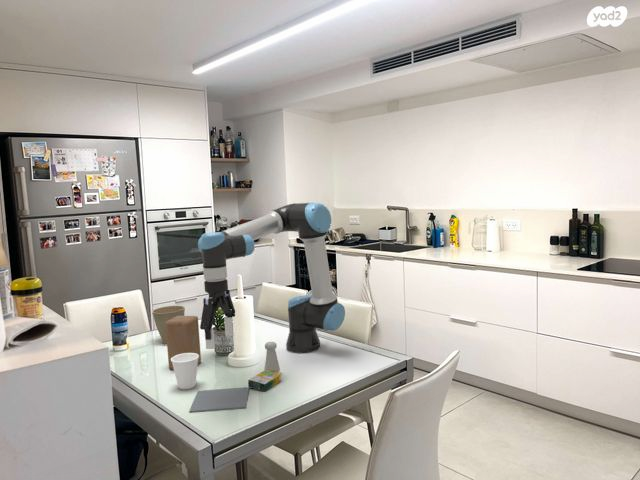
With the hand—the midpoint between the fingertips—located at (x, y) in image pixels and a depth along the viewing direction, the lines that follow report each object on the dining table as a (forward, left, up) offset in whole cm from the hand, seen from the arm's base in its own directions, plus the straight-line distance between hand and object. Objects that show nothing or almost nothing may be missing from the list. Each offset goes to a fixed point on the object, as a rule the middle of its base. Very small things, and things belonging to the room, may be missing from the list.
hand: (220, 342), depth 161 cm
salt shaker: (-16, -18, -20) cm, 31 cm away
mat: (+1, 0, -20) cm, 20 cm away
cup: (+15, -14, -20) cm, 29 cm away
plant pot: (+34, -72, -20) cm, 82 cm away
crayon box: (-10, -5, -18) cm, 22 cm away
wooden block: (+20, -36, -20) cm, 46 cm away
